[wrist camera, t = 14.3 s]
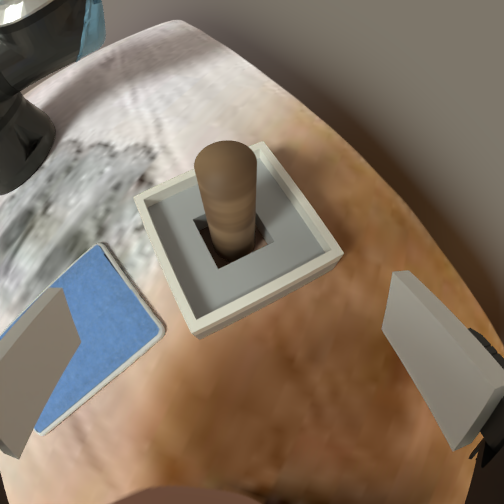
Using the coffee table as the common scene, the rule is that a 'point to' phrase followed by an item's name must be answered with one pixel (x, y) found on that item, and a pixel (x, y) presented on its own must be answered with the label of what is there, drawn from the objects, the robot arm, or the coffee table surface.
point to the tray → (248, 267)
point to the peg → (229, 196)
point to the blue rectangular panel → (97, 331)
